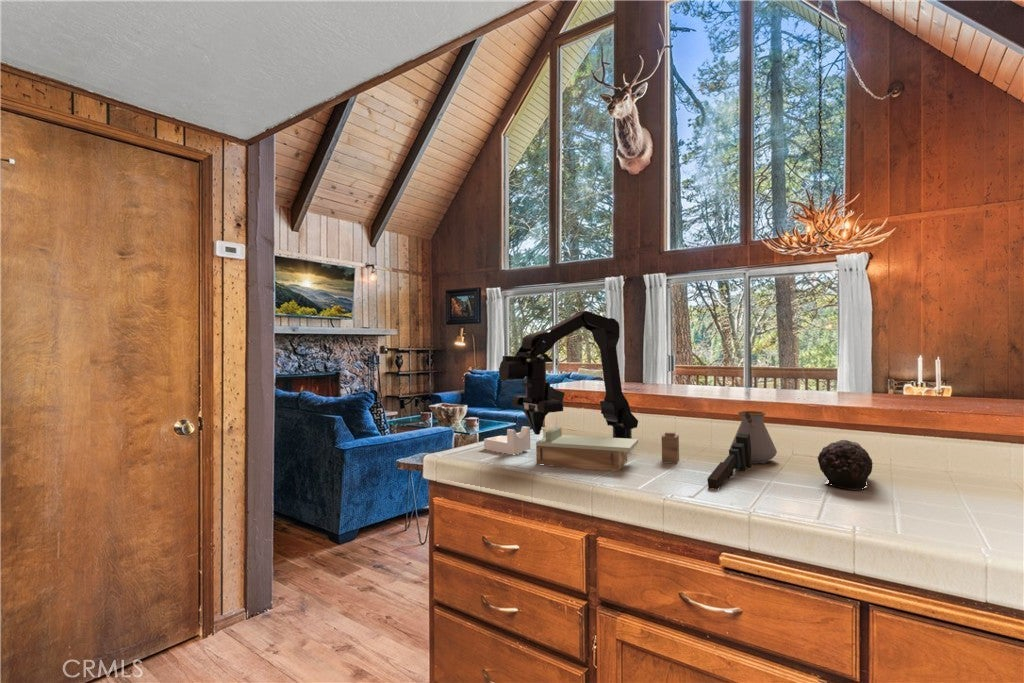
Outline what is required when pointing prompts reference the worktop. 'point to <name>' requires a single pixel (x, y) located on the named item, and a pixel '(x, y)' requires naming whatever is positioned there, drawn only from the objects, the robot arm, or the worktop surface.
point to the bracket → (509, 442)
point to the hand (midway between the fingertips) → (537, 434)
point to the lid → (586, 442)
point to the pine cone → (845, 464)
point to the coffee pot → (756, 436)
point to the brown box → (581, 458)
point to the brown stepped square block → (670, 447)
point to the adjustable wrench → (732, 461)
